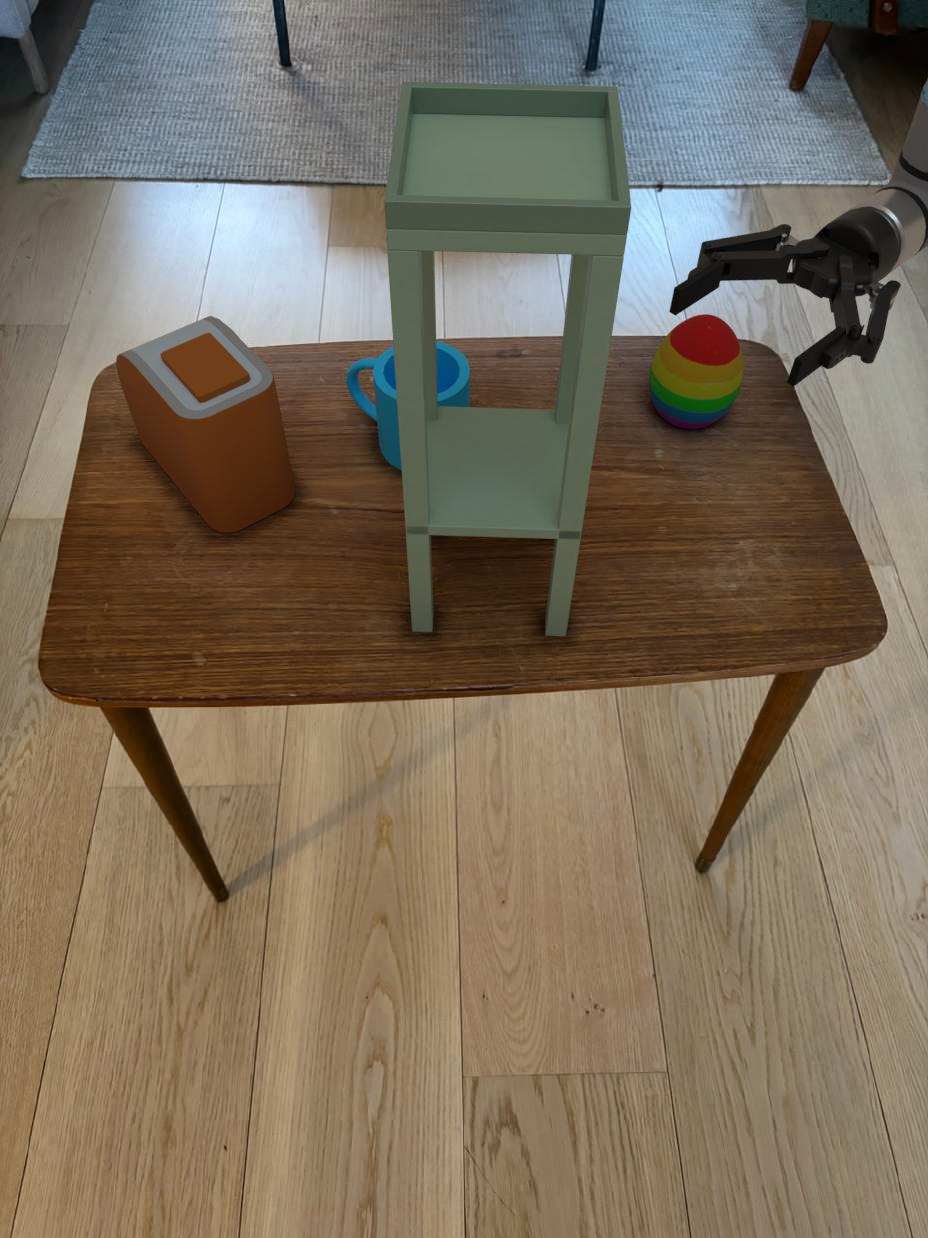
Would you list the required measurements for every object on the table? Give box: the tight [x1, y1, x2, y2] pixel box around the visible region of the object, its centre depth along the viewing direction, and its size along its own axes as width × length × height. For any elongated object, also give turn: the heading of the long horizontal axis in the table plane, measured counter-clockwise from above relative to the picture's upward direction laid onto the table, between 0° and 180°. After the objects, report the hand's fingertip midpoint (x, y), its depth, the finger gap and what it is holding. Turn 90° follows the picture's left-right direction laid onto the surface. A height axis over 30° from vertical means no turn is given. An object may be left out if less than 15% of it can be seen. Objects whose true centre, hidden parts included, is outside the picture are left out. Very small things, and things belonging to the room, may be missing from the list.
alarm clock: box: [115, 315, 296, 534], centre depth 82 cm, size 15×8×14 cm, turn 37°
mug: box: [345, 340, 471, 471], centre depth 87 cm, size 12×8×8 cm
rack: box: [383, 81, 632, 637], centre depth 66 cm, size 12×12×36 cm
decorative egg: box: [648, 313, 744, 430], centre depth 88 cm, size 8×8×10 cm
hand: (732, 336), depth 89 cm, fingers open, 13 cm apart
